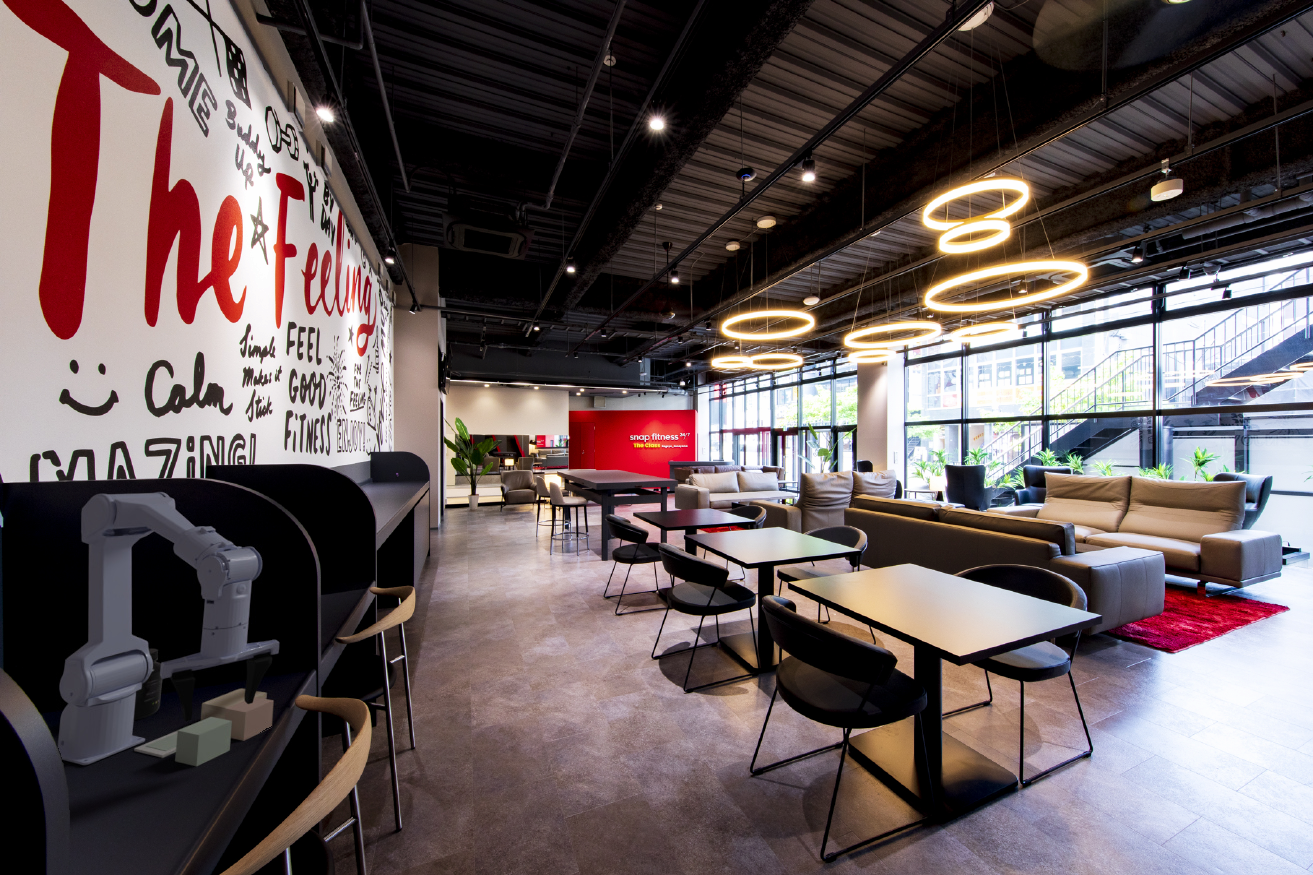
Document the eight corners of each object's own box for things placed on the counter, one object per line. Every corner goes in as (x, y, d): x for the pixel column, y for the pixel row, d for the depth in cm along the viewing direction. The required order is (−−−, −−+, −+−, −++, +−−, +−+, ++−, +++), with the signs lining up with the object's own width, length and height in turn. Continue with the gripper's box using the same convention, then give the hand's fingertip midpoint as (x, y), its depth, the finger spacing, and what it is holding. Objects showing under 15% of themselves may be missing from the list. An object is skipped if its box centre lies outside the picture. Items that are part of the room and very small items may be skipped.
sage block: (175, 761, 84) (177, 730, 84) (208, 746, 88) (211, 716, 89) (196, 766, 82) (199, 735, 83) (229, 750, 87) (231, 720, 87)
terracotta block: (223, 736, 92) (225, 708, 92) (251, 723, 96) (253, 696, 97) (243, 741, 90) (245, 712, 91) (271, 727, 95) (273, 700, 95)
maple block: (200, 724, 96) (202, 703, 96) (239, 708, 103) (240, 688, 103) (227, 730, 94) (229, 708, 94) (265, 713, 101) (266, 692, 101)
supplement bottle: (98, 725, 95) (105, 659, 96) (128, 708, 101) (134, 647, 102) (142, 722, 96) (147, 657, 97) (168, 705, 103) (173, 645, 104)
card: (134, 750, 86) (134, 747, 86) (182, 730, 93) (182, 728, 93) (162, 757, 84) (162, 754, 85) (209, 736, 91) (209, 733, 91)
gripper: (169, 640, 74) (160, 736, 73) (287, 619, 85) (280, 701, 85) (161, 630, 78) (153, 720, 78) (274, 611, 90) (268, 689, 89)
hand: (219, 709), depth 81 cm, fingers open, 7 cm apart
